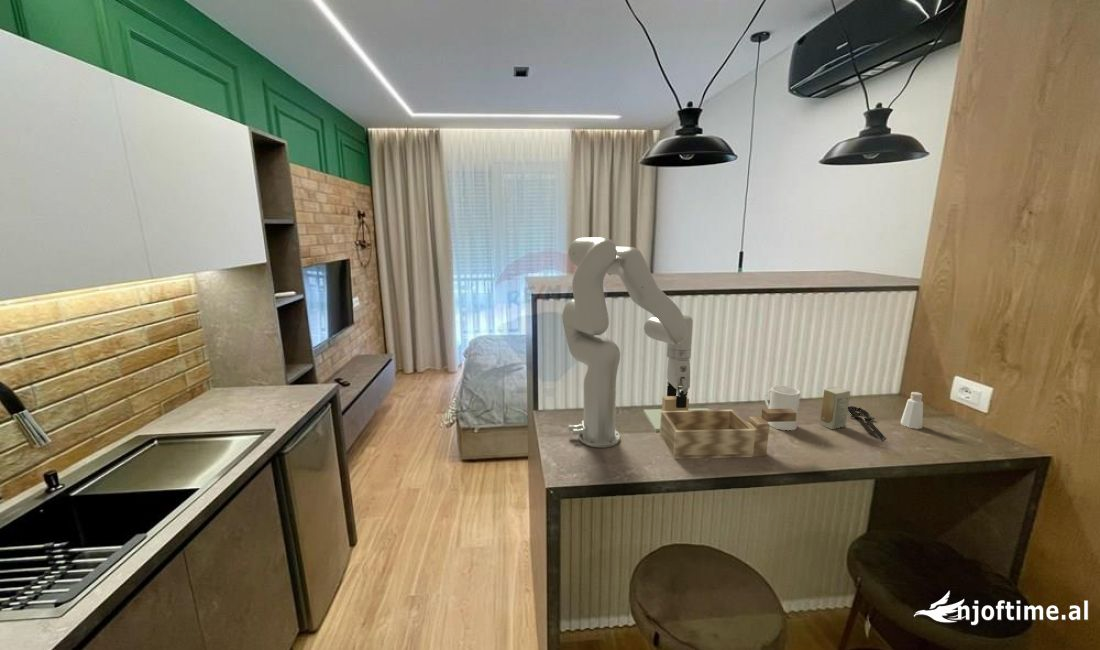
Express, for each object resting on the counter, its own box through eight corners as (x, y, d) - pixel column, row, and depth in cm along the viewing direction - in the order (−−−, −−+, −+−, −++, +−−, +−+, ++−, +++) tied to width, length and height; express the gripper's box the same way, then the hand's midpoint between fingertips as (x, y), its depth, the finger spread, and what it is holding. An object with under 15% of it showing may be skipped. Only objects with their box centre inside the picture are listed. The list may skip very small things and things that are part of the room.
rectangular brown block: (767, 421, 115) (767, 413, 115) (761, 417, 118) (762, 409, 118) (795, 421, 116) (796, 412, 115) (789, 416, 118) (790, 408, 118)
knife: (887, 443, 123) (888, 439, 123) (861, 439, 126) (862, 435, 126) (866, 411, 146) (867, 407, 145) (844, 408, 148) (845, 404, 148)
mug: (754, 416, 142) (757, 383, 139) (776, 414, 143) (780, 381, 141) (779, 432, 130) (783, 395, 128) (803, 429, 132) (807, 393, 129)
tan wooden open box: (674, 458, 115) (676, 426, 113) (659, 435, 129) (661, 406, 127) (767, 456, 116) (770, 424, 114) (742, 433, 130) (745, 404, 128)
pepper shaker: (897, 424, 134) (903, 392, 132) (902, 420, 138) (908, 388, 135) (919, 430, 130) (925, 397, 128) (924, 426, 133) (930, 393, 131)
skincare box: (833, 421, 137) (838, 386, 135) (846, 427, 133) (851, 390, 131) (818, 424, 135) (823, 388, 133) (831, 430, 131) (836, 393, 129)
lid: (655, 433, 132) (656, 410, 130) (643, 413, 146) (644, 393, 145) (727, 431, 132) (729, 409, 131) (708, 412, 147) (710, 392, 145)
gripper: (700, 360, 129) (696, 412, 132) (681, 345, 146) (678, 392, 149) (675, 360, 129) (673, 412, 132) (660, 346, 146) (657, 392, 149)
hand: (676, 401), depth 141 cm, fingers open, 9 cm apart
